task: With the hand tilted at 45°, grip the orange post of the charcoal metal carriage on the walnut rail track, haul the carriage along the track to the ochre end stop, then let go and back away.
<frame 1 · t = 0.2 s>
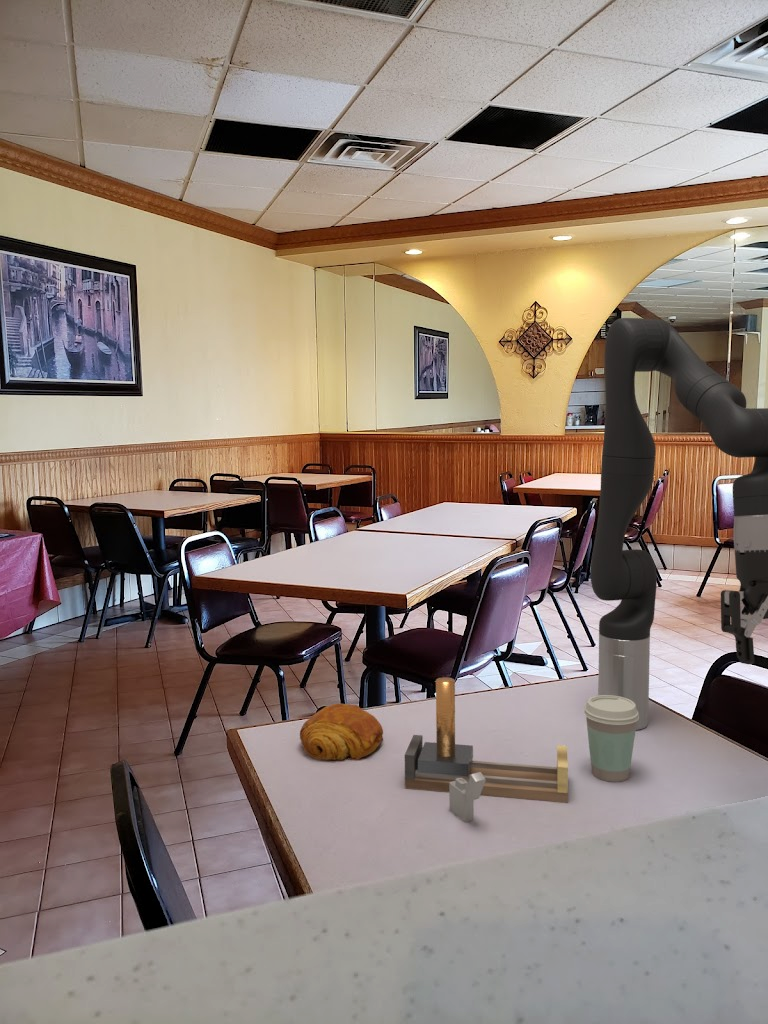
carriage: (445, 722, 120), point 10 cm above the table, slide at 0.0 cm
coffee cup: (610, 775, 122), on the table
croissant: (343, 747, 135), on the table
lighter: (467, 820, 109), on the table
rail track: (486, 783, 120), on the table
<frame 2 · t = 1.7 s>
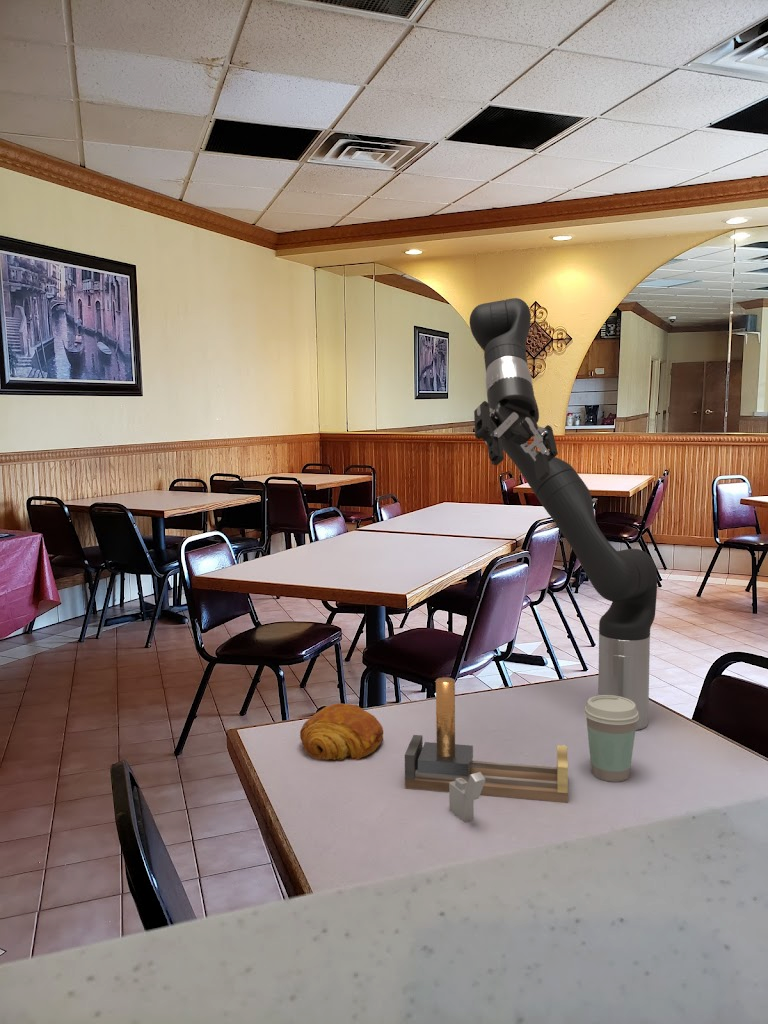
hand: (520, 470, 114), 50 cm above the table, tool tilted 40°, fingers open, 8 cm apart
nothing on the table moved.
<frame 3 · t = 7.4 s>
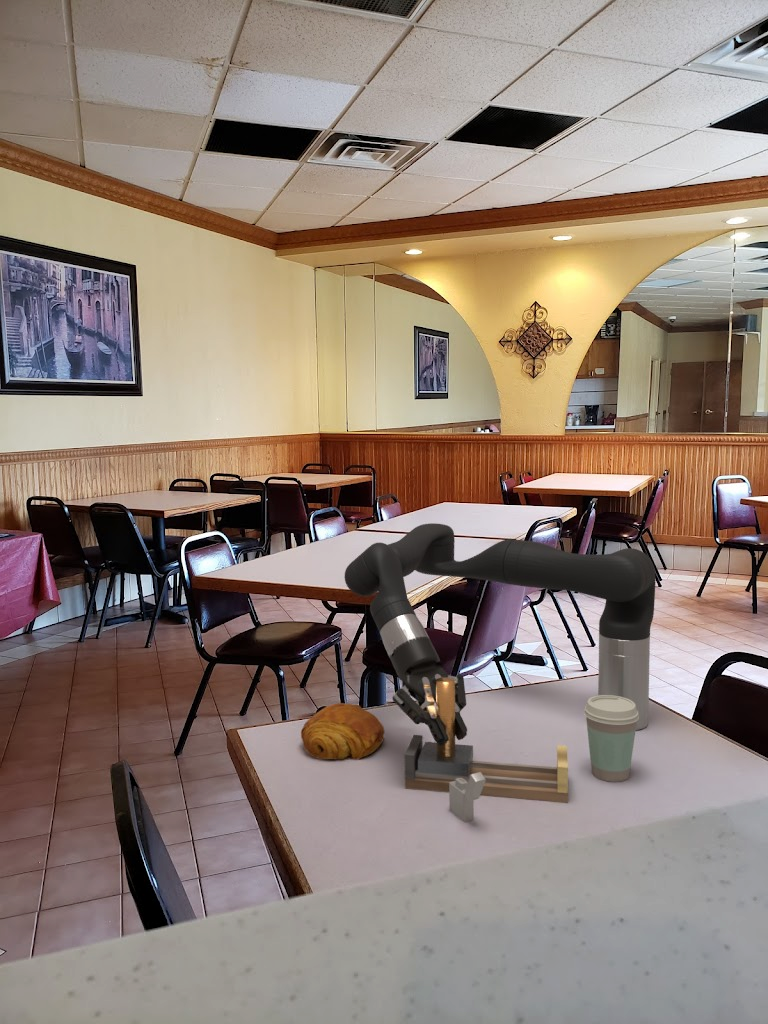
hand: (453, 739, 119), 7 cm above the table, tool tilted 45°, fingers closed on carriage, 3 cm apart
carriage: (445, 722, 120), point 10 cm above the table, slide at 0.0 cm, touching gripper
everything else where it was.
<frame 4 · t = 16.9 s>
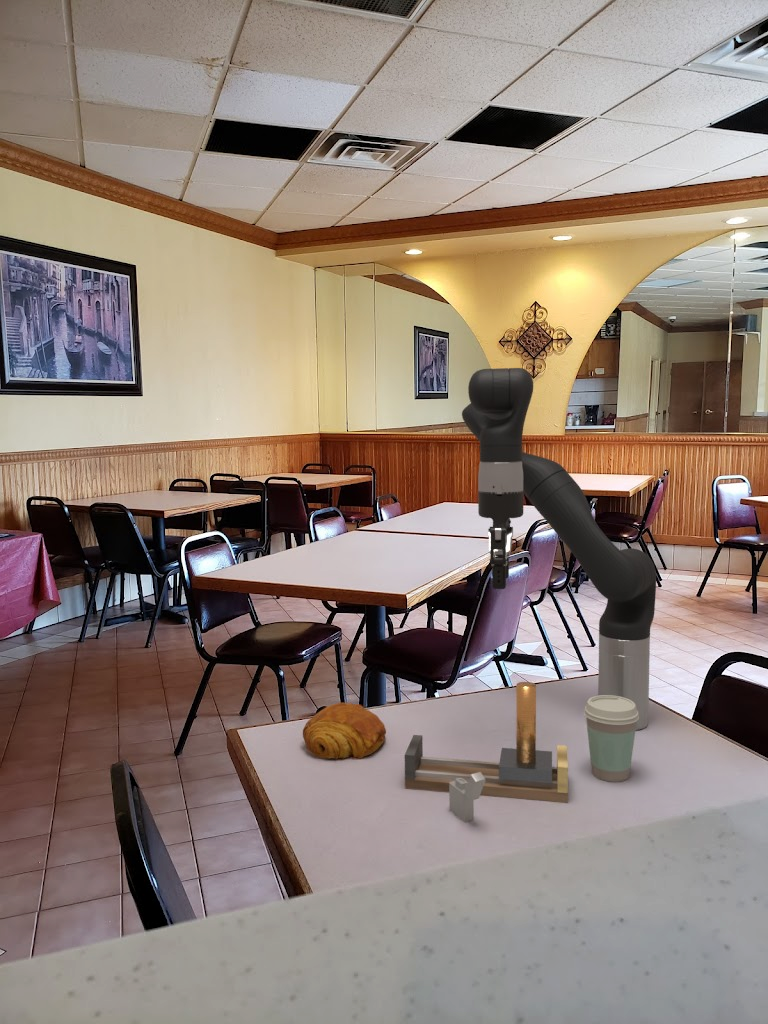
hand: (500, 583, 128), 30 cm above the table, tool pointing down, fingers open, 8 cm apart
carriage: (526, 728, 117), point 10 cm above the table, slide at 12.7 cm
everything else where it was.
at the end: carriage slide at 12.7 cm; the gripper is holding nothing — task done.
